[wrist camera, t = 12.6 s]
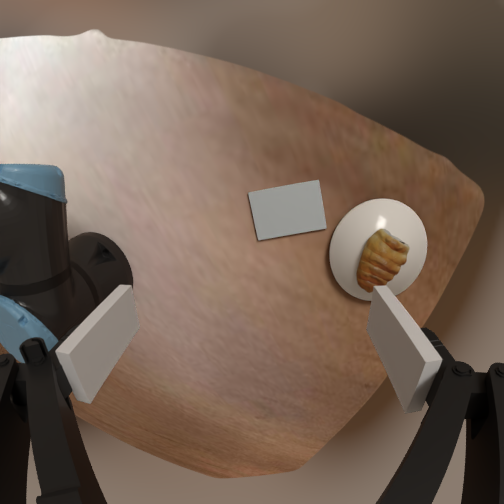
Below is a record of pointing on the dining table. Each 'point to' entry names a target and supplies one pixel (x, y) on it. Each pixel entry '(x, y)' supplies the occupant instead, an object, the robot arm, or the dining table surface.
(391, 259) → the pastry
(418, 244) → the plate
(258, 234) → the napkin
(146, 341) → the dining table surface
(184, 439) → the dining table surface
